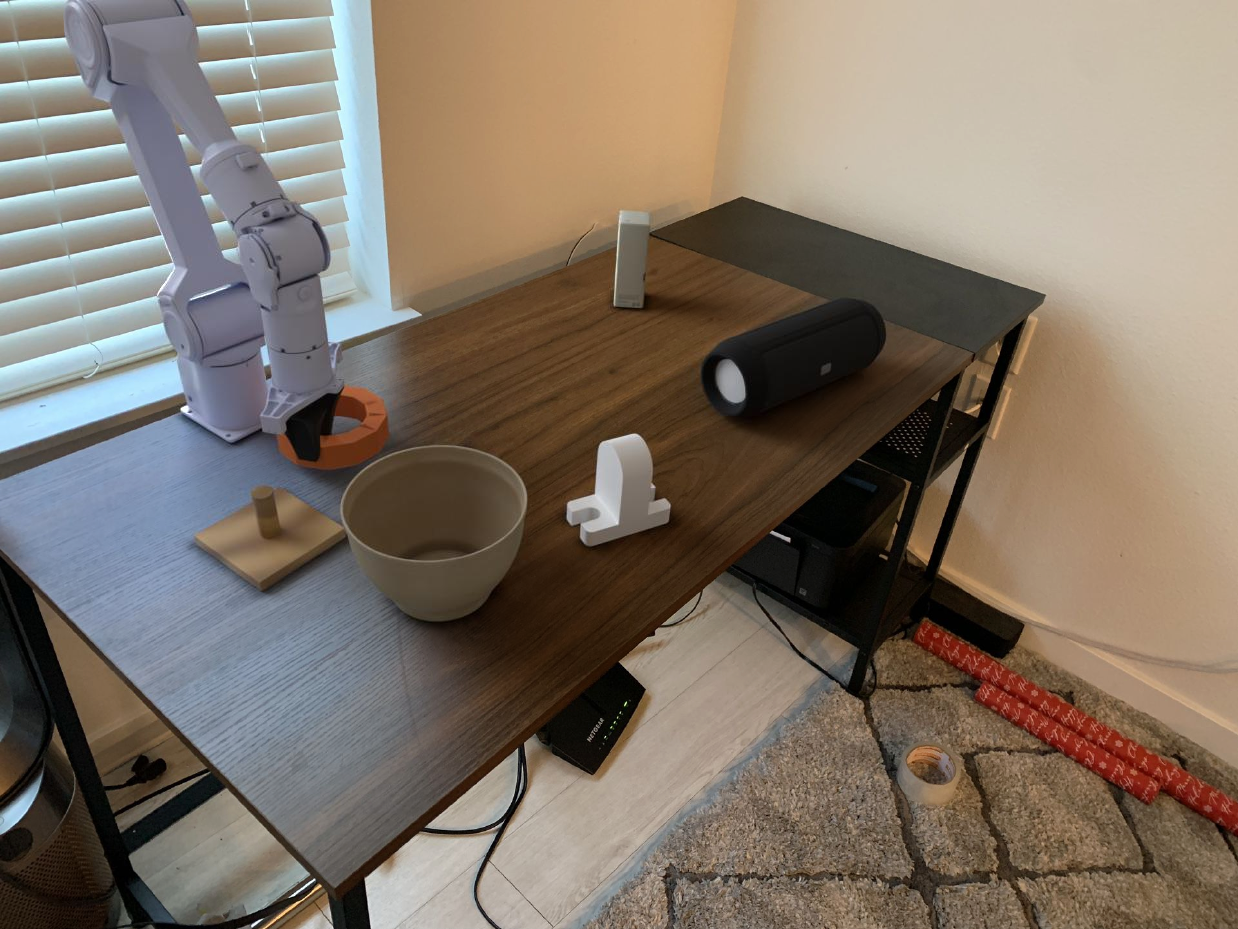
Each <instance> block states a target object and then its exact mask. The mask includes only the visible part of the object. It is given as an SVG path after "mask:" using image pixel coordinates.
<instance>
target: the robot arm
mask: <svg viewBox="0 0 1238 929" xmlns="http://www.w3.org/2000/svg"><path fill="white" fill-rule="evenodd" d="M63 31H64V37H65V40H66V43H67V44H68V48H69V50H70V53H71V55H72V58H73V60H74V62H75V65H76V67H77V70H78V72H79V75H80V77H81V80H82V82H83V83H84V85H85V86H86V89H87V91H88V94H89V96H90V97H91V98H94V99H97V100H100V101H104V102H106V103H108V105H109V107H110V110H111V112H112V115H113V116H114V118H115V121H116V123H117V126H118V128H119V130H120V133H121V135H122V139H123V140H124V143H125V145H126V148H127V151H128V153H129V156H130V158H131V161H132V163H133V166H134V168H135V171H136V173H137V177H138V178H139V181H140V185H141V186H142V188H143V191H144V193H145V196H146V199H147V202H148V204H149V206H150V208H151V211H152V214H153V216H154V219H155V221H156V224H157V226H158V229H159V231H160V234H161V237H162V239H163V241H164V244H165V247H166V249H167V252H168V254H169V257H170V260H171V262H172V264H173V270H172V272H171V273H170V275H169V276H168V277H167V279H166V281H165V282H164V283H163V285H162V286H161V288H159V290H158V293H157V294H156V295H157V296H156V297H157V303H158V305H159V308H160V311H161V316H162V323H163V328H164V331H165V334H166V336H167V337H166V338H168V341H169V343H170V345H171V346H172V348H173V349H174V351H175V352H176V353H177V357H176V365H177V370H178V374H179V378H180V383H181V386H182V390H183V394H184V399H185V402H186V405H184V406H182V407H181V408H180V409H179V410H180V413H181V414H182V415H184V416H185V417H187V418H189V419H190V420H192V421H194V422H196V424H199V425H200V426H201V427H204V428H205V429H207V430H208V431H210V432H211V433H213V434H214V435H216V436H217V437H219V438H221V439H223V440H224V441H226V442H227V443H231V444H232V443H235V442H237V441H239V440H241V439H243V438H245V437H247V436H249V435H251V434H253V433H255V432H257V431H259V430H261V429H262V432H263V433H268V434H272V435H276V434H279V435H283V434H285V435H286V436H287V438H288V440H289V442H290V443H291V445H292V447H293V449H294V451H295V453H296V455H297V457H298V459H300V460H306V461H312V462H317V461H318V459H319V456H320V448H321V443H320V435H321V436H329V435H333V425H334V420H335V417H334V414H335V410H336V406H337V403H338V400H339V398H340V395H341V393H342V391H343V389H344V385H345V379H344V378H343V377H340V376H337V370H338V369H337V368H338V364H340V363H341V362H342V361H343V360H344V354H343V347H342V346H343V345H342V343H340V342H334V341H333V342H332V341H329V337H328V328H327V320H326V314H325V305H324V298H323V288H322V281H321V275H319V274H320V273H322V272H325V271H327V270H328V269H329V267H330V265H331V259H332V258H331V257H332V256H331V246H330V243H329V240H328V238H327V236H326V233H325V231H324V230H323V228H322V226H321V224H320V221H319V220H318V219H317V218H316V217H315V216H314V214H312V213H311V212H309V211H307V210H306V209H304V208H303V207H302V206H301V204H300V203H299V202H297V201H296V200H294V201H290V198H289V197H288V195H287V194H286V193H285V191H284V189H283V187H282V186H281V184H280V183H279V181H278V180H277V178H276V177H275V175H274V173H273V171H272V170H271V168H270V167H269V165H268V163H267V162H266V161H265V158H264V157H263V156H262V154H261V153H260V151H259V149H258V148H257V147H256V146H254V145H252V144H250V143H248V142H247V143H246V142H244V141H240V140H238V138H237V136H236V134H235V132H234V130H233V128H232V126H231V124H230V122H229V120H228V118H227V116H226V115H225V112H224V110H223V109H222V106H221V105H220V102H219V101H218V99H217V97H216V95H215V92H214V91H213V89H212V87H211V85H210V84H209V81H208V80H207V77H206V76H205V74H204V71H203V69H202V67H201V65H200V64H199V61H200V55H201V54H200V40H199V39H200V38H199V34H198V33H199V32H198V29H197V25H196V21H195V19H194V16H193V14H192V11H191V9H190V7H189V6H188V4H187V2H186V1H185V0H67V1H66V3H65V6H64V10H63ZM174 122H175V123H176V125H177V126H178V127H179V129H180V130H181V131H182V133H183V134H184V135H185V137H186V138H187V140H188V141H189V142H190V144H191V145H192V146H193V148H194V149H195V150H196V151H197V154H199V155H200V157H201V158H202V161H201V164H200V168H199V178H200V180H201V182H202V184H203V185H204V186H205V188H206V189H207V191H208V193H209V195H210V196H211V198H212V199H213V201H214V203H215V204H216V206H217V207H218V209H219V210H220V212H221V214H222V215H223V217H224V219H225V220H226V222H227V224H228V225H229V227H230V228H231V230H232V231H233V233H234V235H235V236H236V238H237V239H238V240H237V248H236V249H235V250H236V254H237V258H238V261H239V263H237V262H235V261H232V260H230V259H227V258H225V256H224V254H223V252H222V249H221V246H220V243H219V241H218V237H217V235H216V233H215V230H214V227H213V224H212V222H211V219H210V216H209V213H208V211H207V208H206V205H205V203H204V200H203V198H202V195H201V192H200V190H199V186H198V185H197V182H196V179H195V177H194V174H193V171H192V169H191V168H192V167H191V166H190V162H189V160H188V158H187V155H186V152H185V150H184V147H183V145H182V142H181V139H180V136H179V134H178V131H177V129H176V126H175V123H174ZM228 285H229V286H228ZM226 286H227V287H226ZM221 287H223V288H221ZM216 289H217V290H216ZM213 290H214V291H213ZM210 291H211V292H210ZM206 292H209V293H206ZM204 293H205V294H204ZM201 294H203V295H201ZM197 295H199V296H197ZM195 296H196V297H195ZM265 346H266V349H267V355H268V362H269V367H270V368H269V369H270V373H271V377H270V380H269V386H268V381H267V376H266V371H265V365H264V360H263V354H262V348H263V347H265Z"/></svg>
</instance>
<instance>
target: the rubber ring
mask: <svg viewBox="0 0 1238 929" xmlns="http://www.w3.org/2000/svg"><path fill="white" fill-rule="evenodd" d="M335 417H342V418H346V419H347V418H348V419H349V418H350V419H355V420H357V421H359V422H360V423H361V424H360V425H359V426H356V427H354V428H353V429H350V430H348V431H346V432H342V433H336V434H332V435H329V436H321V435H320V443H321V448H320V456H319V459H318V461H317V462H312V461H306V460H300V459H298V457H297V455H296V453H295V451H294V449H293V447H292V445H291V443H290V442H289V440H288V438H287V436H286V435H285V434H283V435H279V434H275V435H276V440H277V445H278V451H279V453H280V454H281V455H282V456H284V457H285V458H287V459H288V460H289V461H291V462H292V463H294V465H297V466H299V467H306V468H311V469H318V470H324V471H325V470H326V471H328V470H335V469H340V468H342V469H343V468H348V467H354V466H355V467H356V466H357V465H359V464H361V463H363V462H364V461H367V460H369V459H371V458H372V457H374V456H377V455H378V454H380V452H381V450H382V449H383V447H384V446H385V444H386V443H387V441H388V439H389V438H390V431H389V420H388V413H387V410H386V406H385V403H384V399H382V398H381V397H380V396H378V395H376V394H375V393H373V392H371V391H370V390H369V389H366V388H363V387H357V386H352V385H345V384H344V389H343V391H342V393H341V395H340V398H339V400H338V403H337V406H336V410H335V414H334V418H335Z"/></svg>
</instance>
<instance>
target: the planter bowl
mask: <svg viewBox="0 0 1238 929" xmlns="http://www.w3.org/2000/svg"><path fill="white" fill-rule="evenodd" d="M339 509H340V510H339V512H340V517H341V523H342V527H344V529H345V533H346V536H347V539H348V542H349V546H350V548H351V551H352V554H353V556H354V559H355V560H356V562H357V564H358V566H359V568H360V569H361V570H362V572H363V573H364V575H365V576H366V577H367V579H368V580H369V581H370V582H371V583H372V585H373V586H374V587H375V588H376V589H377V590H378V591H380V592H381V594H383V595H384V596H385V597H386V598H388V599H389V600H391V601H392V602H394V605H395V606H396V607H397V608H398V609H399V610H400V611H402V612H403V613H405V614H406V615H408V616H410V617H412V618H414V619H417V620H421V621H426V622H448V621H453V620H458V619H461V618H463V617H466V616H468V615H470V614H472V613H473V612H475V611H477V610H478V609H479V608H481V606H483V605H484V604H485V602H486V601H488V598H489V597H490V595H491V593H492V591H493V590H494V589H495V588H496V587H497V586H498V585H499V583H500V582H502V580H503V578H504V577H505V576H506V575H507V573H508V571H509V569H510V568H511V566H512V564H513V563H514V561H515V558H516V556H517V553H518V551H519V548H520V545H521V542H522V538H523V532H524V524H525V518H526V516H527V512H528V492H527V488H526V485H525V483H524V481H523V479H522V478H521V476H520V474H518V472H517V471H516V470H515V469H514V468H513V467H512V466H510V464H508V463H507V462H505V461H504V460H502V459H500V458H499V457H497V456H495V455H492V454H490V453H488V452H484V451H482V450H478V449H475V448H471V447H466V446H460V445H448V444H430V445H424V446H415V447H411V448H406V449H402V450H399V451H396V452H392V453H390V454H387V455H384V456H383V457H381V458H378V459H377V460H375V461H373V462H372V463H369V465H367V466H365V467H364V468H363V469H362V470H360V471H359V473H357V474H356V475H355V476H354V477H353V479H352V480H350V482H349V484H348V485H347V487H346V489H345V491H344V492H343V495H342V498H341V501H340V508H339Z"/></svg>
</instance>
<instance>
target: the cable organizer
mask: <svg viewBox="0 0 1238 929" xmlns="http://www.w3.org/2000/svg"><path fill="white" fill-rule="evenodd" d="M596 459H597V460H596V472H595V485H594V494H591V495H587V496H584V497H580V498H576V499H573V500H569V501H568V502H567V503H566V520H567V522H568V523H569V525H570V526H571V527H572V526H573V527H574V526H576V525H579V524H580V532H579V539H580V540H581V541H582V542H583V544H584V545H585V546H587V547H594V546H597V545H599V544H600V545H601V544H604V543H606V542H611V541H613V540H616V539H620V538H624V537H626V536H630V535H632V534H636V533H639V532H643V531H646V530H648V529H653V528H655V527H659V526H662V525H664V524H665V525H666V524H667V523H669V520H670V513H671V503H670V501H668V500H667V498H661V499H657V500H655V495H656V486H655V485H654V483H652V482H653V473H654V466H653V458H652V455H651V452H650V449H649V447H648V445H647V443H646V441H645V440H644V438H643V437H642V436H641V435H640V434H638V433H630V434H627V435H623V436H619V437H615V438H611V439H607V440H603V441H601V442H600V443H599V445H598V448H597V458H596Z"/></svg>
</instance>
